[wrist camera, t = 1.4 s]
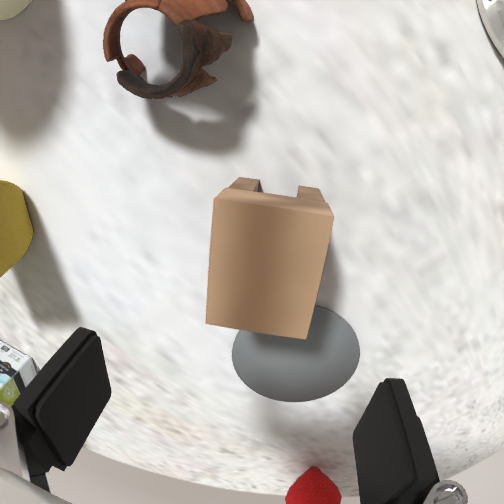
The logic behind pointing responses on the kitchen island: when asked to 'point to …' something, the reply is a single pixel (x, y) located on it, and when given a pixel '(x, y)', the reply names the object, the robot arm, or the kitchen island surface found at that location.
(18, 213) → the flower pot
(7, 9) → the reusable coffee cup
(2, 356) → the tea box
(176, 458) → the kitchen island surface
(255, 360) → the mat
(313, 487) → the strawberry
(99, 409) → the robot arm
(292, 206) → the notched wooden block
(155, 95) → the brown curved piece
